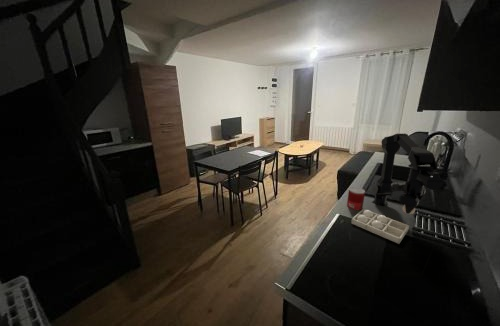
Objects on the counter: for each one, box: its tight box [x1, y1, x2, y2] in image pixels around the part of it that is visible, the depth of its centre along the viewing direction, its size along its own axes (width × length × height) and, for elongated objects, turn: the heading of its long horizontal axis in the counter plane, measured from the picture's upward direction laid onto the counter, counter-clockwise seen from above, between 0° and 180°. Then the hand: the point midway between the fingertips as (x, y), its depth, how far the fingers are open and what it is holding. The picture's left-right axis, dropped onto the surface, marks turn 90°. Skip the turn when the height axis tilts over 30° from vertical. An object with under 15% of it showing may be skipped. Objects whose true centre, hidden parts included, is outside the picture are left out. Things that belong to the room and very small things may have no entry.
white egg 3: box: [371, 220, 383, 230], centre depth 96 cm, size 5×5×5 cm
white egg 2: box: [363, 209, 374, 218], centre depth 105 cm, size 5×5×5 cm
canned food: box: [346, 186, 366, 211], centre depth 115 cm, size 8×8×11 cm
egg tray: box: [351, 208, 410, 245], centre depth 99 cm, size 14×20×3 cm
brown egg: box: [402, 204, 416, 215], centre depth 93 cm, size 5×5×5 cm
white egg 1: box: [357, 215, 368, 224], centre depth 101 cm, size 5×5×5 cm
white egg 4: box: [377, 214, 388, 224], centre depth 100 cm, size 5×5×5 cm
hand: (408, 211), depth 94 cm, fingers closed on brown egg, 5 cm apart
